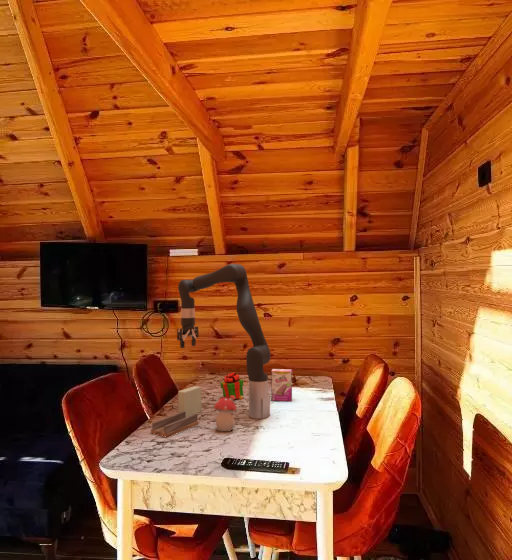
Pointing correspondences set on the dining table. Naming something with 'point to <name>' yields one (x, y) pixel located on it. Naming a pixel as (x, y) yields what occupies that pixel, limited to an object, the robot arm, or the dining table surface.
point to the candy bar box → (281, 385)
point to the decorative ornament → (225, 413)
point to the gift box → (232, 386)
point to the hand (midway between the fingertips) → (188, 346)
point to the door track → (174, 424)
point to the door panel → (189, 400)
